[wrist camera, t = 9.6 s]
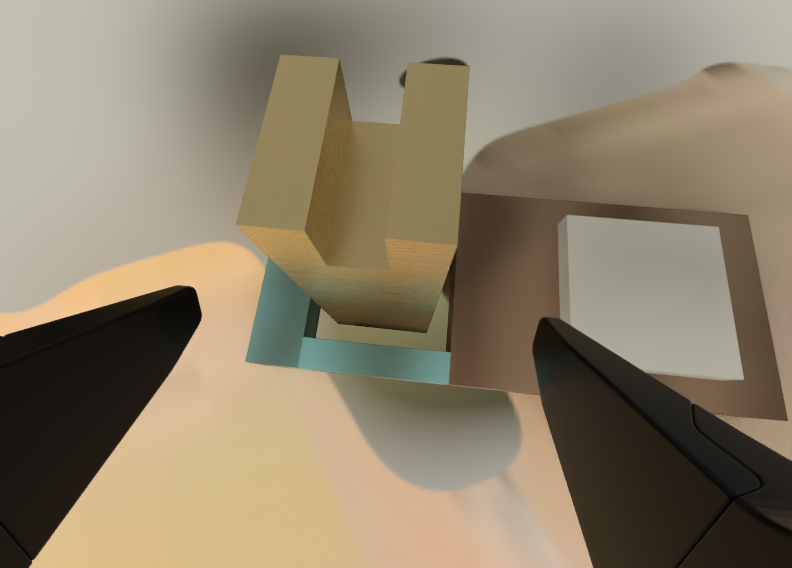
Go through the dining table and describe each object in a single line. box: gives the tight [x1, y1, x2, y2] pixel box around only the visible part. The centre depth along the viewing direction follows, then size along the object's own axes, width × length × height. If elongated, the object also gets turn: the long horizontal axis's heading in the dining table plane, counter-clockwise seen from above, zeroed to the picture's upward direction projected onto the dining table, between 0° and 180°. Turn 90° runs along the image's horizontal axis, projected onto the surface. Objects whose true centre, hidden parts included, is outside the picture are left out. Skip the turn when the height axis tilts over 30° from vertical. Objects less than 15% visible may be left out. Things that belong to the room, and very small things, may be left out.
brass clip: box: [236, 55, 469, 333], centre depth 13 cm, size 4×4×11 cm
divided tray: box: [245, 193, 788, 421], centre depth 16 cm, size 22×9×3 cm, turn 84°
